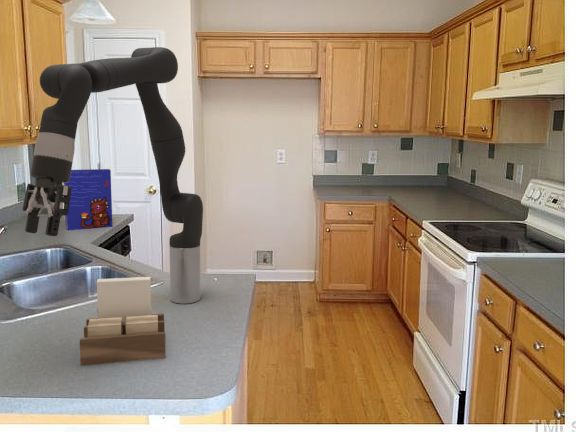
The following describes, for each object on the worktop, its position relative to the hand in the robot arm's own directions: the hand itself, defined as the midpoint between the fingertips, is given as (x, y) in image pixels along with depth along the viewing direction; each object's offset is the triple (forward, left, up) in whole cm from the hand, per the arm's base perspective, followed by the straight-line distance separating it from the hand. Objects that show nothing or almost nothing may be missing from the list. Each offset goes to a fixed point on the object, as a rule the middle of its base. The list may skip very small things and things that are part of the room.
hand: (40, 234), depth 105 cm
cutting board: (-9, +16, -29) cm, 34 cm away
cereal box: (-162, -10, -31) cm, 165 cm away
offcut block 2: (-3, +20, -29) cm, 35 cm away
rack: (-5, +16, -30) cm, 35 cm away
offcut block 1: (-3, +12, -29) cm, 32 cm away
